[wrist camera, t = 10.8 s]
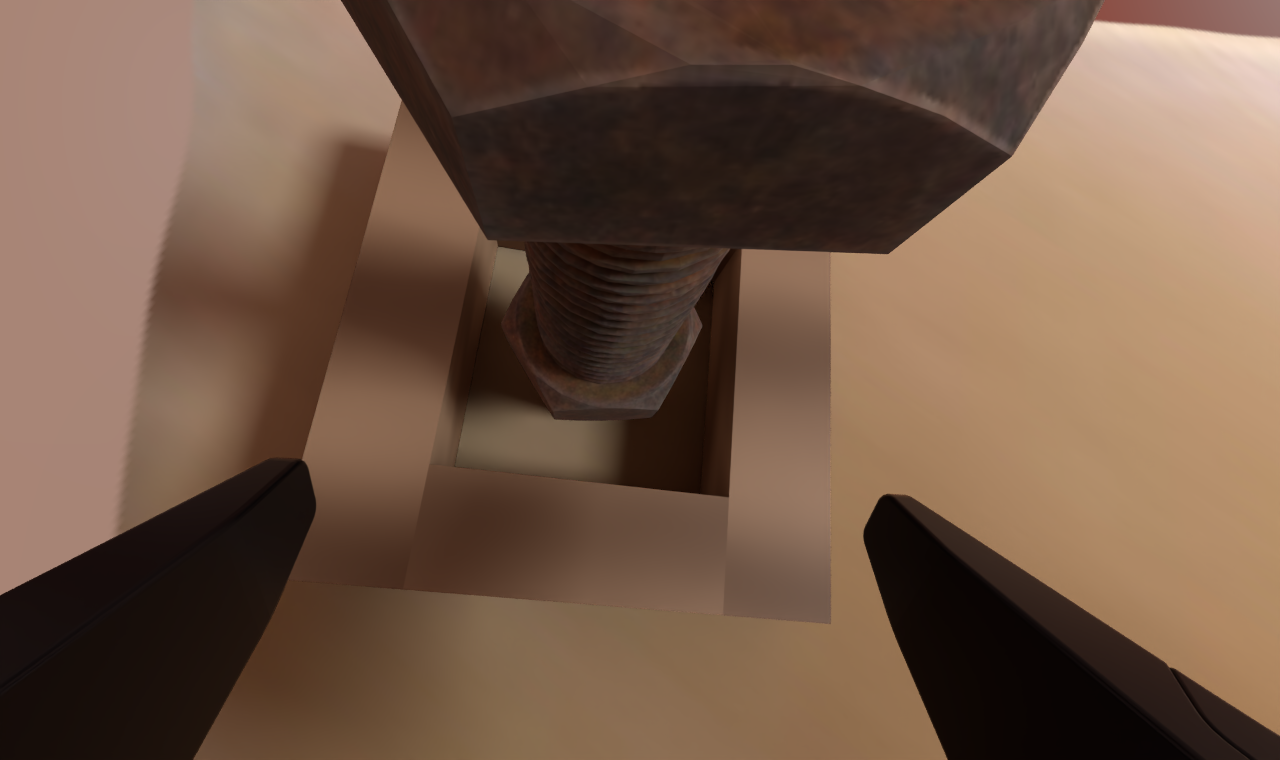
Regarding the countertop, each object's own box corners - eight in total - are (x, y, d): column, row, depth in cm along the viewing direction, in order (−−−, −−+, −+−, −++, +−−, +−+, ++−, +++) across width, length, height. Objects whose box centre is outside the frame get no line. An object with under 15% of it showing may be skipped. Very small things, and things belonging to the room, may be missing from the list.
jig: (782, 603, 16) (830, 623, 13) (326, 564, 14) (268, 578, 12) (791, 225, 20) (830, 177, 17) (428, 159, 18) (403, 93, 15)
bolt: (505, 451, 16) (-35, -3, 2) (508, 305, 17) (211, -706, 3) (680, 446, 17) (1337, 119, 2) (672, 307, 18) (1085, -458, 4)
